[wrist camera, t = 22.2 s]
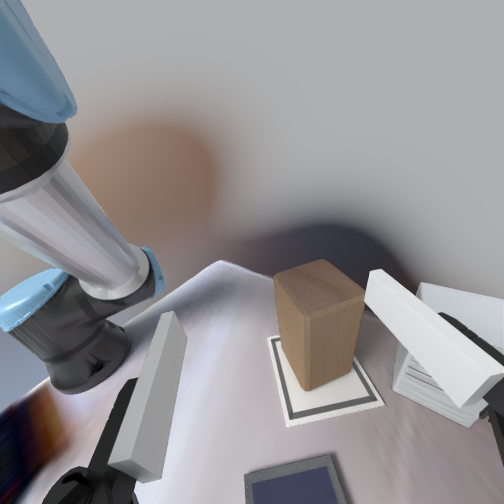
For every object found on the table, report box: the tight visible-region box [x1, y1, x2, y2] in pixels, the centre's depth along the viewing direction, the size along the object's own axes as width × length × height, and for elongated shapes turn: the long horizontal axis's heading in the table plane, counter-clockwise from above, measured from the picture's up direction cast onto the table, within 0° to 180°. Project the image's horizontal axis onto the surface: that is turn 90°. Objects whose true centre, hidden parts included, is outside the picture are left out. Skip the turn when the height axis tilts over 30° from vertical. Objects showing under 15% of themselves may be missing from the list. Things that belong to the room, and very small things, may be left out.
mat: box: [267, 335, 385, 428], centre depth 37 cm, size 16×16×1 cm
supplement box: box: [392, 282, 504, 428], centre depth 28 cm, size 10×9×17 cm
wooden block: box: [273, 259, 366, 392], centre depth 33 cm, size 10×10×20 cm
